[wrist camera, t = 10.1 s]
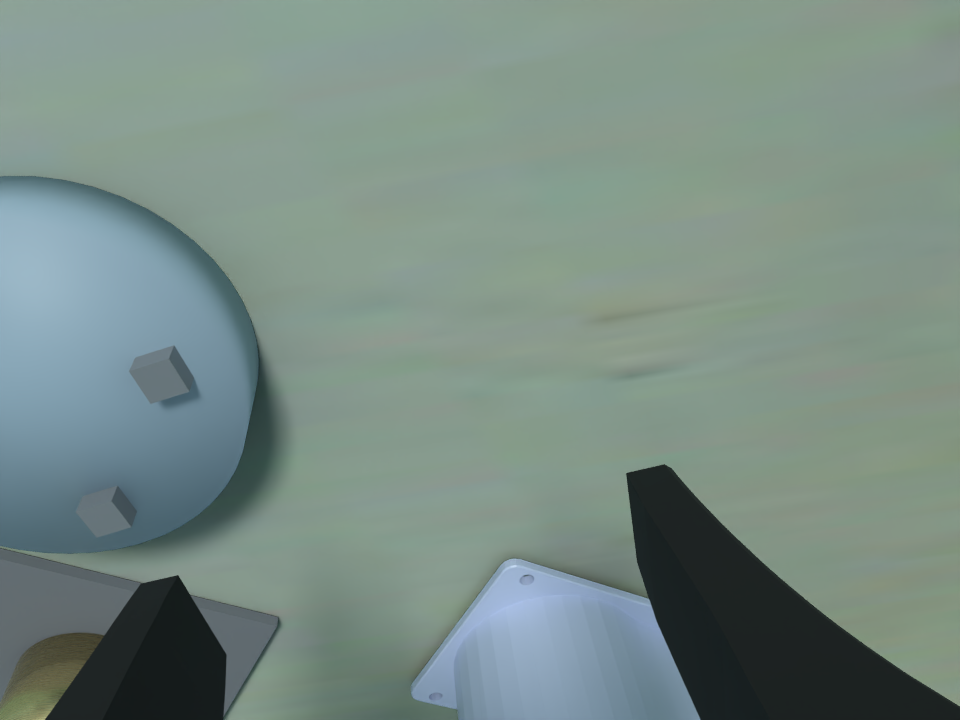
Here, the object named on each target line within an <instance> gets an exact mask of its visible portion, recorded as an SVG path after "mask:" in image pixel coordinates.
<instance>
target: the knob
mask: <svg viewBox="0 0 960 720" xmlns="http://www.w3.org/2000/svg"><path fill="white" fill-rule="evenodd" d="M103 637H104V635H101V634H94V633H67V634H61V635H56V636H52V637H49V638H47V639H44V640H42V641H40V642H38V643H36V644H34V645H33V646H31V647H30V648H29V649H28V650H26V651H25V652H24V653H23V655H22V656H21V657H20V659H19V661H18V662H17V665H16V667H15V669H14V672H13V674H12V676H11V679H10V681H9V683H8V686H7V688H6V690H5V693H4V695H3V697H2V700H1V702H0V720H45V719H46V717H47V716H48V715H49V713H50V712H51V711H52V709H53V708H54V706H55V705H56V704H57V702H58V701H59V699H60V698H61V697H62V695H63V694H64V692H65V691H66V690H67V688H68V687H69V685H70V684H71V682H72V681H73V680H74V678H75V677H76V675H77V674H78V673H79V671H80V670H81V668H82V667H83V666H84V664H85V663H86V661H87V660H88V659H89V657H90V656H91V654H92V653H93V651H94V650H95V648H96V647H97V645H98V644H99V643H100V641H101V640H102V638H103Z"/></svg>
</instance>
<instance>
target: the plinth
mask: <svg viewBox="0 0 960 720" xmlns="http://www.w3.org/2000/svg"><path fill="white" fill-rule="evenodd" d="M258 370H259V357H258V349H257V341H256V337H255V333H254V330H253V326H252V323H251V319H250V317H249V315H248V313H247V310H246V308H245V306H244V304H243V302H242V299H241V298H240V296H239V294H238V293H237V291H236V290H235V288H234V286H233V285H232V283H231V282H230V280H229V278H228V277H227V276H226V275H225V274H224V272H223V271H222V270H221V269H220V267H219V266H218V265H217V264H216V262H215V261H214V260H213V259H212V258H211V257H210V256H209V255H208V254H207V253H206V252H205V251H204V250H203V249H202V248H201V247H200V246H199V245H198V244H197V243H196V242H195V241H193V240H192V239H191V238H190V237H188V236H187V235H186V234H184V233H183V232H182V231H180V230H179V229H178V228H177V227H175V226H174V225H173V224H171V223H170V222H168V221H166V220H165V219H163V218H161V217H160V216H158V215H156V214H155V213H153V212H152V211H150V210H148V209H146V208H144V207H142V206H140V205H138V204H136V203H134V202H132V201H129V200H127V199H125V198H123V197H121V196H118V195H115V194H112V193H109V192H107V191H104V190H101V189H98V188H95V187H92V186H88V185H83V184H79V183H75V182H71V181H66V180H61V179H52V178H44V177H36V176H2V177H0V546H4V547H9V548H13V549H18V550H26V551H35V552H43V553H67V554H73V553H92V552H101V551H108V550H115V549H120V548H124V547H128V546H132V545H136V544H141V543H143V542H146V541H149V540H152V539H154V538H157V537H160V536H163V535H165V534H167V533H169V532H171V531H173V530H175V529H177V528H179V527H181V526H182V525H184V524H185V523H187V522H188V521H190V520H191V519H193V518H194V517H196V516H197V515H199V514H200V513H201V512H202V511H203V510H204V509H205V508H207V507H208V506H209V505H210V504H211V503H212V502H213V501H214V500H215V499H216V498H217V497H218V495H219V494H220V493H221V492H222V491H223V489H224V488H225V487H226V486H227V484H228V482H229V480H230V479H231V477H232V475H233V474H234V472H235V470H236V468H237V466H238V463H239V460H240V458H241V455H242V453H243V448H244V444H245V439H246V435H247V430H248V425H249V421H250V416H251V411H252V407H253V402H254V397H255V392H256V387H257V382H258Z"/></svg>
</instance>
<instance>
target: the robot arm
mask: <svg viewBox="0 0 960 720" xmlns="http://www.w3.org/2000/svg"><path fill="white" fill-rule="evenodd" d="M626 475H627V483H628V492H629V500H630V508H631V516H632V524H633V532H634V540H635V548H636V557H637V563H638V566H639V569H640V572H641V575H642V578H643V582H644V585H645V588H646V591H647V594H648V597H649V599H648V598H645V597H641V596H638V595H635V594H632V593H628V592H625V591H622V590H619V589H615V588H612V587H609V586H606V585H602V584H599V583H596V582H593V581H589V580H586V579H583V578H580V577H576V576H573V575H570V574H567V573H563V572H560V571H557V570H554V569H550V568H547V567H544V566H541V565H537V564H534V563H531V562H528V561H524V560H521V559H515V558H514V559H509V560H507V561H505V562H504V563H502V564H501V565H500V567H499V568H498V569H497V571H496V572H495V573H494V575H493V576H492V577H491V579H490V580H489V581H488V583H487V584H486V585H485V587H484V588H483V589H482V591H481V592H480V593H479V595H478V596H477V597H476V599H475V600H474V601H473V603H472V604H471V605H470V607H469V608H468V609H467V611H466V612H465V613H464V615H463V616H462V617H461V619H460V620H459V621H458V623H457V624H456V625H455V627H454V628H453V629H452V631H451V632H450V633H449V635H448V636H447V637H446V639H445V640H444V641H443V643H442V644H441V645H440V647H439V648H438V649H437V651H436V652H435V654H434V655H433V656H432V658H431V659H430V660H429V662H428V663H427V664H426V666H425V667H424V668H423V670H422V671H421V672H420V674H419V675H418V676H417V678H416V679H415V680H414V682H413V683H412V685H411V695H412V697H413V698H414V699H416V700H418V701H422V702H426V703H431V704H435V705H440V706H444V707H449V708H453V709H457V710H458V720H960V706H958V705H956V704H955V703H953V702H952V701H950V700H948V699H947V698H945V697H944V696H942V695H940V694H939V693H937V692H935V691H934V690H932V689H931V688H929V687H927V686H926V685H924V684H922V683H921V682H919V681H918V680H916V679H914V678H913V677H911V676H910V675H908V674H906V673H905V672H903V671H902V670H900V669H899V668H898V667H896V666H895V665H893V664H892V663H890V662H889V661H887V660H886V659H884V658H883V657H882V656H880V655H879V654H877V653H876V652H874V651H873V650H871V649H870V648H868V647H867V646H866V645H864V644H863V643H862V642H860V641H859V640H857V639H856V638H855V637H853V636H852V635H851V634H849V633H848V632H847V631H845V630H844V629H842V628H841V627H840V626H838V625H837V624H836V623H834V622H833V621H832V620H831V619H829V618H828V617H827V616H825V615H824V614H823V613H822V612H820V611H819V610H818V609H817V608H815V607H814V606H813V605H812V604H810V603H809V602H808V601H807V600H805V599H804V598H803V597H802V596H801V595H799V594H798V593H797V592H796V591H795V590H793V589H792V588H791V587H790V586H789V585H788V584H786V583H785V582H784V581H783V580H782V579H780V578H779V577H778V576H777V575H776V574H775V573H774V572H773V571H771V570H770V569H769V568H768V567H767V566H766V565H765V564H763V563H762V562H761V561H760V560H759V559H758V558H757V557H756V556H755V555H754V554H753V553H752V552H751V551H750V550H749V549H747V548H746V547H745V546H744V545H743V544H742V543H741V542H740V541H739V540H738V539H737V538H736V537H735V536H734V535H733V534H732V533H731V532H730V531H729V530H728V529H726V528H725V527H724V526H723V525H722V524H721V523H720V522H719V520H718V519H717V518H716V517H715V516H714V515H713V514H712V513H711V512H710V511H709V510H708V509H707V508H706V507H705V506H704V505H703V504H702V503H701V502H700V501H699V500H698V498H697V497H696V496H695V495H694V494H693V493H692V492H691V491H690V490H689V488H688V487H687V486H686V485H685V484H684V483H683V482H682V480H681V479H680V478H679V477H678V476H677V474H676V473H675V472H674V471H673V470H672V468H670V467H668V466H666V465H665V464H664V465H660V466H655V467H651V468H647V469H642V470H638V471H634V472H629V473H626ZM524 575H528V576H524ZM226 659H227V654H226V653H225V651H224V650H223V648H222V646H221V645H220V643H219V641H218V640H217V638H216V636H215V635H214V633H213V632H212V630H211V628H210V627H209V625H208V623H207V622H206V620H205V618H204V617H203V615H202V614H201V612H200V610H199V609H198V607H197V605H196V604H195V602H194V600H193V599H192V597H191V596H190V594H189V592H188V591H187V589H186V587H185V586H184V584H183V582H182V581H181V579H180V578H179V576H178V575H177V576H173V577H168V578H164V579H160V580H155V581H151V582H147V583H142V584H140V585H139V587H138V588H137V590H136V591H135V592H134V594H133V595H132V596H131V598H130V599H129V601H128V602H127V603H126V605H125V606H124V608H123V609H122V611H121V612H120V614H119V615H118V616H117V618H116V619H115V621H114V622H113V624H112V625H111V627H110V628H109V629H108V631H107V632H106V634H105V635H104V637H103V638H102V640H101V641H100V643H99V644H98V645H97V647H96V648H95V650H94V651H93V653H92V654H91V656H90V657H89V659H88V660H87V661H86V663H85V664H84V666H83V667H82V668H81V670H80V671H79V673H78V674H77V675H76V677H75V678H74V680H73V681H72V682H71V684H70V685H69V687H68V688H67V690H66V691H65V692H64V694H63V695H62V697H61V698H60V699H59V701H58V702H57V704H56V705H55V706H54V708H53V709H52V711H51V712H50V713H49V715H48V716H47V717H46V719H45V720H223V716H224V701H225V685H226Z"/></svg>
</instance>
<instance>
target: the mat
mask: <svg viewBox="0 0 960 720" xmlns="http://www.w3.org/2000/svg"><path fill="white" fill-rule="evenodd" d="M140 584H142V583H138V582H134V581H130V580H126V579H122V578H118V577H114V576H110V575H106V574H102V573H98V572H94V571H90V570H86V569H82V568H78V567H74V566H70V565H66V564H62V563H58V562H54V561H49V560H45V559H41V558H37V557H33V556H29V555H25V554H21V553H17V552H13V551H9V550H5V549H1V548H0V702H1V700H2V697H3V695H4V693H5V690H6V688H7V686H8V683H9V681H10V679H11V676H12V674H13V672H14V669H15V667H16V665H17V662H18V661H19V659H20V657H21V656H22V655H23V653H24V652H25V651H26V650H28V649H29V648H30V647H31V646H33V645H34V644H36V643H38V642H40V641H42V640H44V639H47V638H49V637H52V636H56V635H61V634H67V633H94V634H101V635H105V634H106V632H107V631H108V629H109V628H110V627H111V625H112V624H113V622H114V621H115V619H116V618H117V616H118V615H119V614H120V612H121V611H122V609H123V608H124V606H125V605H126V603H127V602H128V601H129V599H130V598H131V596H132V595H133V594H134V592H135V591H136V590H137V588H138V587H139V585H140ZM190 596H191V595H190ZM191 597H192V599H193V600H194V602H195V604H196V605H197V607H198V609H199V610H200V612H201V614H202V615H203V617H204V618H205V620H206V622H207V623H208V625H209V627H210V628H211V630H212V632H213V633H214V635H215V636H216V638H217V640H218V641H219V643H220V645H221V646H222V648H223V650H224V651H225V653H226V654H227V659H226V685H225V701H224V715H225V713H226V712H227V710H228V708H229V707H230V705H231V703H232V702H233V700H234V698H235V696H236V695H237V693H238V691H239V690H240V688H241V686H242V685H243V683H244V681H245V680H246V678H247V676H248V675H249V673H250V671H251V670H252V668H253V666H254V664H255V663H256V661H257V659H258V658H259V656H260V654H261V653H262V651H263V649H264V648H265V646H266V644H267V643H268V641H269V639H270V637H271V636H272V634H273V632H274V631H275V629H276V627H277V623H278V617H276V616H272V615H268V614H264V613H260V612H256V611H252V610H248V609H244V608H240V607H236V606H232V605H227V604H223V603H219V602H215V601H211V600H207V599H203V598H199V597H195V596H191ZM223 717H224V716H223Z"/></svg>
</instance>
